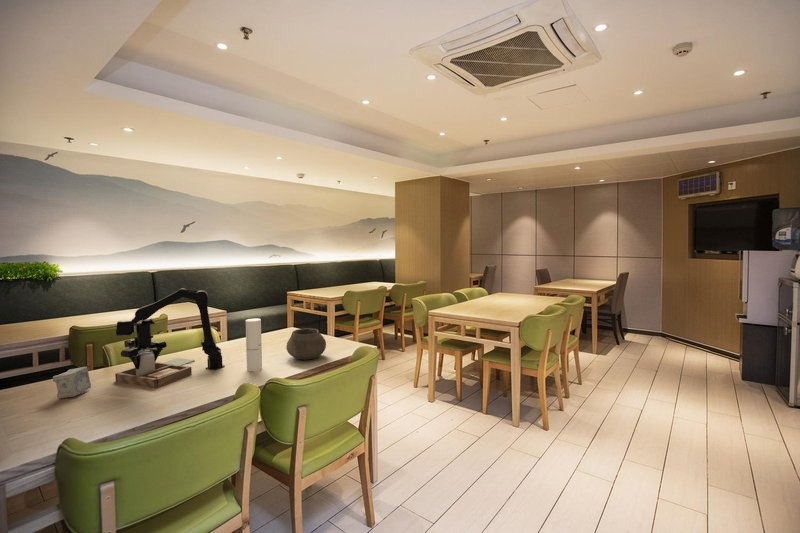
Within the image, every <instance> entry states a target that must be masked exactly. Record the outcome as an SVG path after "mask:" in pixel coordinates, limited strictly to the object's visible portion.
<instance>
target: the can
mask: <svg viewBox="0 0 800 533" xmlns="http://www.w3.org/2000/svg"><path fill="white" fill-rule="evenodd" d="M152 352H153V351H150V350H145V351H142V352H138V355H140V364H139V369H136V376H139V375H142V374H144V373H147V372H150V371H153V370H155V358H154V354H153V353H152Z"/></svg>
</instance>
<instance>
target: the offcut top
mask: <svg viewBox="0 0 800 533" xmlns="http://www.w3.org/2000/svg"><path fill="white" fill-rule="evenodd" d="M176 371H179V370H177V369H171V368H168V369H165V370H162V371H159V372H156V373H153V374H150V375H148V377H149V378H155V379H157V378H160V377H162V376H165V375H168V374H171V373H173V372H176Z"/></svg>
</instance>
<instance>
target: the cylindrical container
mask: <svg viewBox="0 0 800 533" xmlns="http://www.w3.org/2000/svg"><path fill="white" fill-rule="evenodd" d="M262 344H263V343H262V320H261V318H257V317H256V318H249V319H245V346H246V351H245V352H246V371H247V372H250V371H254V372H259V371H261V370H263V356H262V355H263V351H262V349H263V346H262Z"/></svg>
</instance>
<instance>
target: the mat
mask: <svg viewBox="0 0 800 533" xmlns="http://www.w3.org/2000/svg"><path fill="white" fill-rule="evenodd" d="M193 362H195V359H190V358H189V359H188V358H181V357H177V358H174V359H173V358H172V359H169V360H167V361H164V362H163V363H167V364H174V365H182V366H185V365H188V364H191V363H193Z"/></svg>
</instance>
